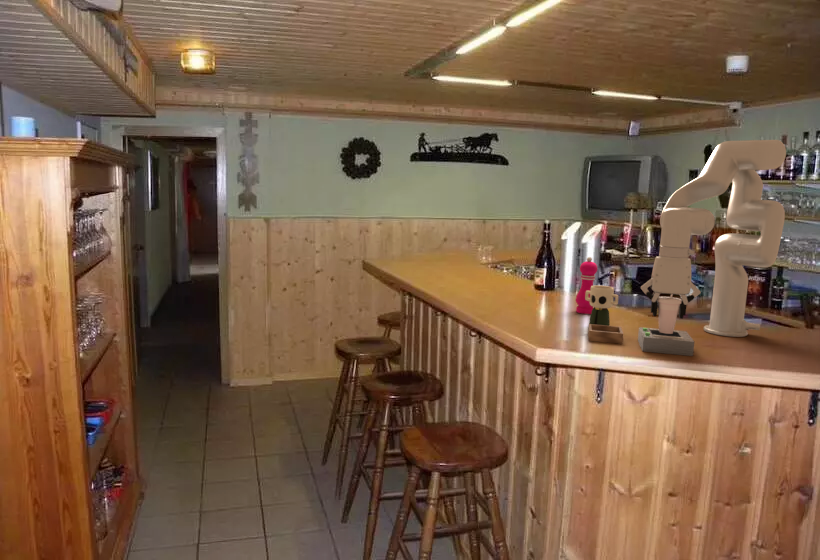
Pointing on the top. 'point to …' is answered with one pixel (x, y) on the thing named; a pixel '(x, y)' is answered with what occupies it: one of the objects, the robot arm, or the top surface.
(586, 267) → the pepper mill
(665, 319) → the smoothie
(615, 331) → the wooden tray
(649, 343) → the box
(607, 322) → the character mug
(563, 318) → the top surface
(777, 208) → the robot arm
